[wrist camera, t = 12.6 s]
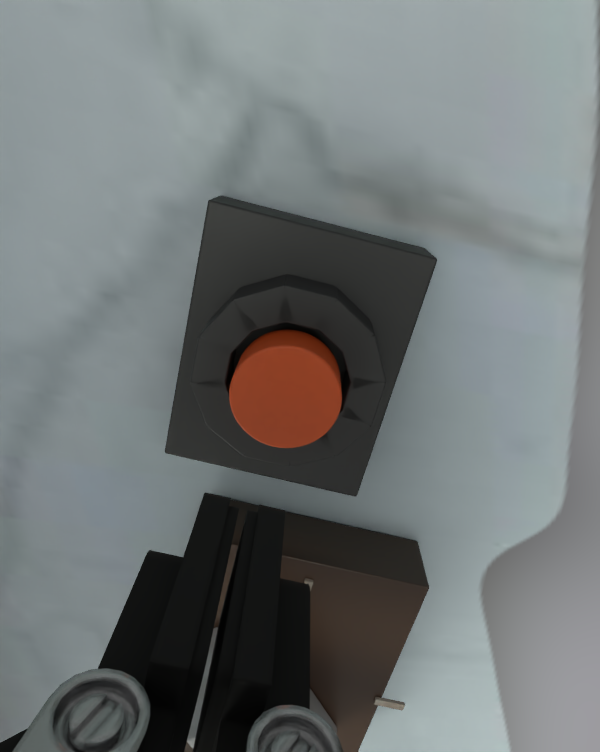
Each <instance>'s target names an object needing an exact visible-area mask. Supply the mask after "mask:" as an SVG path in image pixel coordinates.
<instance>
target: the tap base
mask: <svg viewBox="0 0 600 752" xmlns="http://www.w3.org/2000/svg"><path fill="white" fill-rule="evenodd" d="M229 506H233V507H238V508H239V512H238V517H237V521H236V526H235V531H234V535H233V540H232V545H231V549H230V554H229V559H228V563H227V568H226V573H225V577H224V582H223V587H222V592H221V596H220V601H219V606H218V610H217V615H216V620H215V624H214V628H217V627H218V625H219V621H220V616H221V612H222V608H223V604H224V600H225V596H226V592H227V588H228V584H229V580H230V576H231V572H232V568H233V564H234V561H235V557H236V553H237V549H238V545H239V541H240V537H241V533H242V529H243V525H244V521H245V517H246V513H247V510H251V511H256V512H257V511H258V507H259V506H258V505H253V504H249V503H244V502H240V501H235V500H231V499H230V504H229ZM280 578H282V579H286V580H291V581H296V582H300V583H305V584H309V586H310V689H311V690H312V691H313V693H314V694H315V696H316V697H317V699H318V700H319V702H320V703H321V705H322V706H323V708H324V709H325V711H326V712H327V714H328V715H329V716H330V718H331V719H332V721H333V722H334V724H335V725H336V727H337V736H338V738H339V740H340V743H341V746H342V749H343V752H358V750H359V748H360V745H361V743H362V741H363V739H364V736H365V734H366V732H367V729H368V727H369V725H370V722H371V720H372V718H373V716H374V713H375V711H376V709H377V706H378V705H379V706H384V707H388V708H393V709H398V710H403V708H404V706H405V703H404V702H400V701H395V700H390V699H385V698H381V697H382V695H383V693H384V690H385V688H386V686H387V683H388V681H389V679H390V676H391V674H392V672H393V670H394V667H395V665H396V663H397V660H398V658H399V656H400V654H401V651H402V649H403V647H404V644H405V642H406V640H407V637H408V635H409V633H410V631H411V628H412V626H413V624H414V621H415V619H416V617H417V614H418V612H419V610H420V608H421V605H422V603H423V601H424V598H425V596H426V594H427V591H428V589H429V585H428V581H427V577H426V573H425V569H424V565H423V561H422V558H421V554H420V550H419V546H418V542H417V541H413V540H409V539H404V538H400V537H395V536H391V535H386V534H382V533H378V532H373V531H369V530H364V529H360V528H355V527H351V526H346V525H342V524H338V523H333V522H329V521H324V520H320V519H315V518H311V517H306V516H302V515H298V514H293V513H289V512H285V523H284V536H283V548H282V561H281V574H280ZM184 752H193V748H192V747H191V746H190V745H189V743H188V742H186V746H185V750H184Z"/></svg>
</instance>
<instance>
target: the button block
mask: <svg viewBox="0 0 600 752" xmlns="http://www.w3.org/2000/svg"><path fill="white" fill-rule="evenodd" d="M436 262H437V259H436V258H435V257H434V256H433V255H432V254H431V253H429V252H428V251H427V250H426V249H425V248H421V247H417V246H413V245H410V244H406V243H402V242H398V241H394V240H390V239H386V238H383V237H379V236H375V235H371V234H367V233H363V232H359V231H356V230H352V229H348V228H344V227H340V226H336V225H332V224H329V223H325V222H321V221H317V220H313V219H309V218H305V217H302V216H298V215H294V214H290V213H286V212H282V211H278V210H275V209H271V208H267V207H263V206H259V205H255V204H251V203H248V202H244V201H240V200H236V199H232V198H228V197H224V196H218V197H216V198H213V199H211V200H209V201H208V206H207V211H206V217H205V223H204V229H203V234H202V240H201V246H200V252H199V257H198V263H197V269H196V275H195V280H194V286H193V292H192V298H191V304H190V309H189V315H188V321H187V327H186V332H185V338H184V344H183V350H182V355H181V361H180V367H179V373H178V378H177V384H176V390H175V396H174V401H173V407H172V413H171V419H170V424H169V430H168V436H167V442H166V448H165V453H168V454H172V455H176V456H181V457H185V458H189V459H194V460H198V461H203V462H207V463H211V464H216V465H220V466H224V467H229V468H233V469H238V470H242V471H246V472H251V473H255V474H259V475H264V476H268V477H273V478H277V479H281V480H286V481H290V482H294V483H299V484H303V485H308V486H312V487H316V488H321V489H325V490H329V491H334V492H338V493H342V494H347V495H351V496H357V494H358V491H359V488H360V485H361V482H362V479H363V476H364V473H365V470H366V467H367V465H368V462H369V459H370V456H371V453H372V450H373V447H374V444H375V441H376V438H377V435H378V432H379V429H380V426H381V423H382V421H383V418H384V415H385V412H386V409H387V406H388V403H389V400H390V397H391V394H392V391H393V388H394V385H395V382H396V379H397V377H398V374H399V371H400V368H401V365H402V362H403V359H404V356H405V353H406V350H407V347H408V344H409V341H410V338H411V336H412V333H413V330H414V327H415V324H416V321H417V318H418V315H419V312H420V309H421V306H422V303H423V300H424V297H425V294H426V292H427V289H428V286H429V283H430V280H431V277H432V274H433V271H434V268H435V265H436ZM286 329H287V330H297V331H302V332H305V333H308V334H310V335H312V336H314V337H316V338H317V339H319V340H320V341H322V342H323V343H324V344H325V345H326V346H327V347H328V348H329V349H330V351H331V352H332V353H333V355H334V357H335V359H336V361H337V364H338V366H339V371H340V379H341V390H342V405H341V409H340V413H339V415H338V418H337V420H336V421H335V423H334V425H333V426H332V427H331V429H330V430H329V431H328V432H327V433H326V434H324V435H323V436H322V437H321V438H319V439H318V440H316V441H314V442H312V443H310V444H307V445H304V446H301V447H295V448H278V447H273V446H269V445H266V444H264V443H261V442H259V441H257V440H256V439H254V438H252V437H251V436H250V435H248V434H247V433H246V432H245V431H244V430H243V429H242V428H241V426H240V425H239V424H238V422H237V421H236V419H235V417H234V415H233V413H232V410H231V406H230V401H229V389H230V384H231V380H232V377H233V375H234V372H235V370H236V367H237V364H238V362H239V360H240V357H241V355H242V354H243V352H244V351H245V349H246V348H247V347H248V346H249V345H250V344H251V343H252V342H253V341H254V340H256V339H257V338H259V337H260V336H262V335H264V334H266V333H269V332H272V331H277V330H286Z"/></svg>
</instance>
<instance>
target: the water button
mask: <svg viewBox="0 0 600 752" xmlns="http://www.w3.org/2000/svg"><path fill="white" fill-rule="evenodd" d="M229 401H230V406H231V410H232V413H233V415H234V417H235V419H236V421H237V422H238V424H239V425H240V426H241V428H242V429H243V430H244V431H245V432H246V433H247V434H248V435H250V436H251V437H252V438H254V439H256V440H257V441H259V442H261V443H264V444H266V445H269V446H273V447H278V448H295V447H301V446H304V445H307V444H310V443H312V442H314V441H316V440H318V439H319V438H321V437H322V436H323V435H324V434H326V433H327V432H328V431H329V430H330V429H331V427H332V426H333V425H334V423H335V421H336V420H337V418H338V415H339V413H340V409H341V405H342V390H341V379H340V371H339V366H338V364H337V361H336V359H335V357H334V355H333V353H332V352H331V351H330V349H329V348H328V347H327V346H326V345H325V344H324V343H323V342H322V341H320V340H319V339H317V338H316V337H314V336H312V335H310V334H308V333H305V332H302V331H297V330H287V329H286V330H277V331H272V332H269V333H266V334H264V335H262V336H260V337H259V338H257V339H256V340H254V341H253V342H252V343H251V344H250V345H249V346H248V347H247V348H246V349H245V351H244V352H243V354H242V355H241V357H240V360H239V362H238V364H237V367H236V370H235V372H234V375H233V377H232V380H231V384H230V389H229Z"/></svg>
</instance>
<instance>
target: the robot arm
mask: <svg viewBox="0 0 600 752" xmlns="http://www.w3.org/2000/svg"><path fill="white" fill-rule="evenodd" d="M230 499H231V498H226V497H222V496H217V495H213V494H208V493H205V494H204V496H203V499H202V502H201V505H200V508H199V512H198V515H197V518H196V521H195V524H194V527H193V530H192V533H191V536H190V539H189V542H188V545H187V548H186V551H185V554H184V557H179V556H174V555H169V554H165V553H160V552H155V551H151V550H149V552H148V553H147V555H146V557H145V559H144V561H143V564H142V566H141V569H140V571H139V573H138V576H137V578H136V580H135V583H134V585H133V587H132V590H131V592H130V594H129V597H128V599H127V601H126V604H125V606H124V609H123V611H122V613H121V616H120V618H119V620H118V623H117V625H116V627H115V630H114V632H113V634H112V637H111V639H110V641H109V644H108V646H107V648H106V651H105V653H104V656H103V658H102V660H101V663H100V665H99V667H98V669H92V670H88V671H85V672H82V673H80V674H77V675H74V676H73V677H71V678H70V679H68V680H67V681H65V682H64V683H62V684H61V685H60V686H59V687H58V688H57V689H56V690H55V691H54V693H53V694H52V695H51V696H50V697H49V698H48V700H47V701H46V703H45V704H44V706H43V707H42V709H41V710H40V712H39V713H38V715H37V716H36V718H35V719H34V720H33V722H32V723H31V725H30V726H29V728H28V729H26V730H24V731H22V732H20V733H18V734H16V735H14V736H12V737H11V738H9V739H7V740H5V741H3V742H1V743H0V752H184V750H185V746H186V742H187V738H188V735H189V731H190V727H191V723H192V719H193V715H194V711H195V707H196V703H197V699H198V695H199V691H200V687H201V683H202V679H203V675H204V670H205V666H206V662H207V657H208V652H209V648H210V643H211V638H212V634H213V629H214V624H215V620H216V615H217V610H218V606H219V601H220V596H221V592H222V587H223V582H224V577H225V573H226V568H227V563H228V559H229V554H230V549H231V545H232V540H233V535H234V531H235V526H236V521H237V517H238V512H239V508H238V507H233V506H229V504H230ZM284 523H285V510H280V509H276V508H271V507H267V506H262V505H259V507H258V511H257V512H256V511H251V510H247V513H246V517H245V521H244V525H243V529H242V533H241V537H240V541H239V545H238V549H237V553H236V557H235V561H234V564H233V568H232V572H231V576H230V580H229V584H228V588H227V592H226V596H225V600H224V604H223V608H222V612H221V616H220V621H219V625H218V630H217V635H216V640H215V645H214V649H213V654H212V659H211V664H210V669H209V674H208V679H207V684H206V689H205V693H204V698H203V703H202V708H201V713H200V718H199V723H198V728H197V733H196V737H195V742H194V747H193V752H343V749H342V746H341V743H340V740H339V738H338V736H337V735H336V733H335V731H334V730H333V728H332V727H331V725H330V724H329V723H327V722H326V721H325V720H324V719H323V718H322V717H321V716H320V715H319V714H317V713H315V712H313V711H311V710H310V586H309V584H305V583H300V582H296V581H291V580H286V579H282V578H280V574H281V561H282V548H283V536H284Z"/></svg>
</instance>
